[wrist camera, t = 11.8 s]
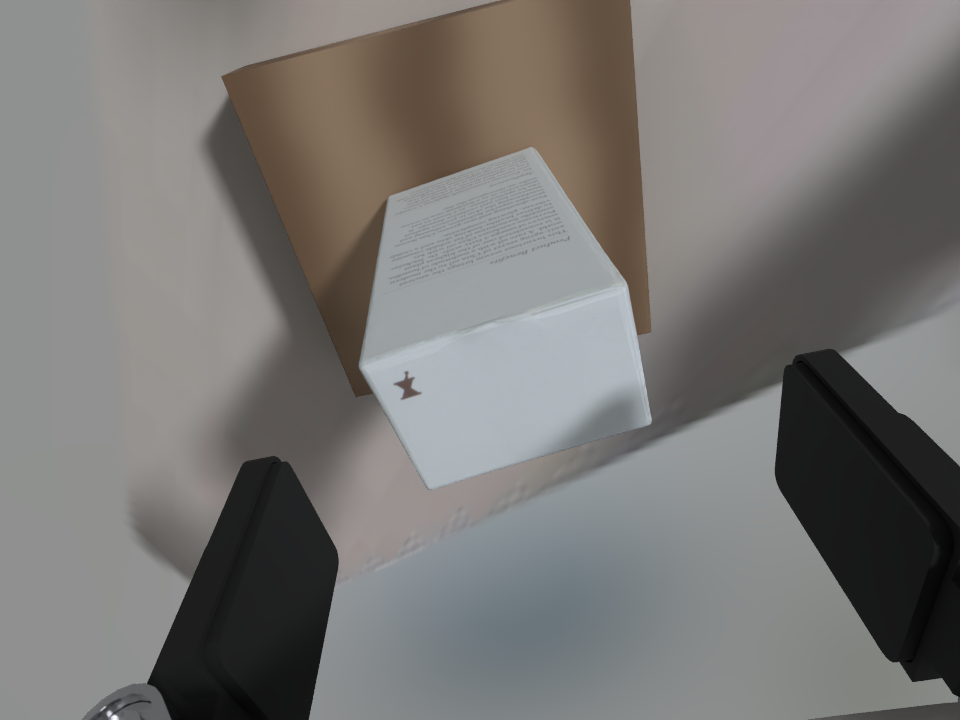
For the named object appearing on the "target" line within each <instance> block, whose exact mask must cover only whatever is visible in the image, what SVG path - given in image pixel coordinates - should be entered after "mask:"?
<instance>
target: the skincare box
mask: <svg viewBox="0 0 960 720" xmlns="http://www.w3.org/2000/svg"><path fill="white" fill-rule="evenodd" d="M359 369H360V371H361V373H362V375H363V376H364V378H365V380H366V382H367V383H368V385H369V387H370V388H371V390H372V392H373V394H374V395H375V397H376V399H377V401H378V402H379V404H380V406H381V408H382V409H383V411H384V413H385V415H386V417H387V418H388V420H389V422H390V424H391V425H392V427H393V429H394V431H395V432H396V434H397V436H398V438H399V440H400V441H401V443H402V445H403V447H404V449H405V450H406V452H407V454H408V456H409V457H410V459H411V461H412V463H413V465H414V467H415V468H416V470H417V472H418V474H419V476H420V477H421V479H422V481H423V483H424V485H425V486H426V488H427V489H428V490H433V489H436V488H440V487H443V486H446V485H449V484H452V483H455V482H458V481H462V480H465V479H468V478H472V477H475V476H479V475H482V474H485V473H489V472H492V471H495V470H498V469H502V468H505V467H508V466H512V465H515V464H519V463H522V462H526V461H529V460H532V459H536V458H539V457H543V456H546V455H549V454H553V453H556V452H559V451H563V450H566V449H569V448H573V447H576V446H579V445H583V444H586V443H590V442H593V441H596V440H600V439H603V438H607V437H610V436H614V435H617V434H620V433H624V432H627V431H630V430H634V429H638V428H642V427H646V426H648V425H650V424H651V421H652V419H651V414H650V408H649V402H648V396H647V390H646V385H645V379H644V373H643V367H642V362H641V356H640V350H639V344H638V338H637V333H636V327H635V322H634V317H633V312H632V306H631V301H630V295H629V289H628V285H627V283H626V281H625V279H624V278H623V277H622V275H621V274H620V273H619V271H618V270H617V268H616V267H615V266H614V264H613V263H612V262H611V260H610V259H609V257H608V256H607V255H606V253H605V252H604V251H603V249H602V247H601V246H600V244H599V243H598V242H597V240H596V239H595V237H594V236H593V234H592V233H591V231H590V230H589V228H588V227H587V225H586V224H585V222H584V221H583V219H582V218H581V216H580V215H579V213H578V212H577V210H576V209H575V207H574V206H573V204H572V203H571V201H570V200H569V198H568V197H567V195H566V194H565V192H564V191H563V189H562V188H561V186H560V185H559V183H558V182H557V180H556V178H555V177H554V175H553V174H552V173H551V171H550V170H549V168H548V166H547V165H546V164H545V162H544V161H543V159H542V157H541V156H540V155H539V153H538V152H537V150H536V149H535V148H533V147H529V148H527V149H524V150H521V151H518V152H515V153H512V154H510V155H507V156H504V157H501V158H498V159H495V160H492V161H489V162H486V163H483V164H480V165H478V166H475V167H472V168H469V169H466V170H463V171H460V172H457V173H455V174H452V175H449V176H446V177H443V178H440V179H437V180H434V181H432V182H429V183H426V184H423V185H420V186H417V187H414V188H412V189H409V190H406V191H403V192H400V193H397V194H394V195H391V196H389V197H388V200H387V205H386V211H385V217H384V223H383V229H382V235H381V240H380V246H379V251H378V257H377V263H376V268H375V275H374V281H373V287H372V293H371V298H370V304H369V310H368V316H367V322H366V329H365V334H364V339H363V345H362V350H361V356H360V360H359Z"/></svg>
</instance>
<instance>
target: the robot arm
mask: <svg viewBox="0 0 960 720" xmlns="http://www.w3.org/2000/svg"><path fill="white" fill-rule="evenodd" d="M775 477H776V481H777V484H778V487H779V489H780V491H781V492H782V494H783V496H784V497H785V499H786V500H787V502H788V503H789V505H790V507H791V508H792V510H793V511H794V513H795V515H796V516H797V518H798V519H799V521H800V523H801V524H802V526H803V527H804V529H805V531H806V532H807V534H808V535H809V537H810V538H811V540H812V542H813V543H814V545H815V546H816V548H817V549H818V551H819V553H820V554H821V556H822V557H823V559H824V561H825V562H826V564H827V565H828V567H829V569H830V570H831V572H832V573H833V575H834V577H835V578H836V580H837V581H838V583H839V585H840V586H841V588H842V589H843V591H844V592H845V594H846V595H847V597H848V599H849V600H850V602H851V603H852V605H853V607H854V608H855V610H856V611H857V613H858V615H859V616H860V618H861V619H862V621H863V623H864V624H865V626H866V627H867V629H868V631H869V632H870V634H871V635H872V637H873V639H874V640H875V642H876V643H877V645H878V646H879V648H880V650H881V651H882V653H883V654H884V655H885V657H886V658H887V659H889V660H890V661H892V662H900V664H901V665H902V666H903V668H904V670H905V671H906V673H907V674H908V676H909V677H910V679H911V680H912V682H916V681H924V680H931V679H938V678H943V680H944V681H945V683H946V684H947V686H948V687H949V688H950V690H951V692H952V693H953V694H954V695H956V696H958V702H955V703H943V704H934V705H925V706H917V707H908V708H900V709H891V710H882V711H874V712H866V713H857V714H849V715H839V716H831V717H824V718H817V719H809V720H960V467H959V465H958V464H957V463H956V462H955V461H953V459H952V458H951V457H949V456H948V455H947V454H946V453H945V452H944V451H943V450H942V449H941V448H940V447H939V446H938V445H937V444H936V443H935V442H934V441H933V440H932V439H931V438H930V437H929V436H928V435H927V434H926V433H925V432H924V431H923V430H922V429H921V428H920V427H919V426H918V425H917V424H916V423H915V422H914V421H912V420H911V419H910V418H908V417H907V416H906V415H903V414H900V413H898V412H897V411H896V410H895V409H894V408H893V407H892V406H891V405H890V404H889V403H888V402H887V401H886V400H885V399H884V398H883V397H882V396H881V395H880V394H879V393H878V392H877V391H876V390H875V389H874V388H873V387H872V386H871V385H870V384H869V383H868V382H867V381H866V380H865V379H864V378H863V377H862V376H861V375H859V373H858V372H857V371H855V369H854V368H853V367H852V366H851V365H850V364H849V363H848V362H847V361H846V360H845V359H844V358H842V357H841V356H840V355H839V354H838V353H837V352H836V351H835V350H833V349H826V350H821V351H816V352H811V353H805V354H800V355H797V356H795V358H794V360H793V364H791V365H787V366H786V367H785V369H784V375H783V386H782V397H781V409H780V419H779V430H778V441H777V452H776V462H775ZM338 564H339V561H338V553H337V550H336V547H335V545H334V544H333V542H332V540H331V538H330V536H329V534H328V533H327V531H326V529H325V527H324V525H323V524H322V522H321V520H320V518H319V516H318V514H317V513H316V511H315V509H314V507H313V505H312V503H311V502H310V500H309V498H308V496H307V494H306V493H305V491H304V489H303V487H302V485H301V483H300V482H299V480H298V478H297V476H296V474H295V472H294V471H293V469H292V467H291V465H290V464H289V463H288V462H281V461H280V459H279V458H278V457H276V456H271V457H266V458H261V459H256V460H250V461H246V462H245V463H243V465H242V466H241V468H240V471H239V473H238V475H237V478H236V480H235V482H234V484H233V487H232V489H231V491H230V494H229V496H228V498H227V501H226V503H225V505H224V508H223V510H222V512H221V515H220V517H219V519H218V522H217V524H216V526H215V529H214V531H213V533H212V536H211V538H210V540H209V543H208V545H207V547H206V548H205V550H204V553H203V555H202V557H201V560H200V562H199V564H198V567H197V569H196V571H195V574H194V576H193V578H192V581H191V583H190V585H189V587H188V590H187V592H186V594H185V597H184V599H183V602H182V604H181V606H180V608H179V611H178V613H177V615H176V618H175V620H174V622H173V625H172V627H171V629H170V632H169V634H168V636H167V639H166V641H165V643H164V645H163V648H162V650H161V652H160V655H159V657H158V659H157V662H156V664H155V666H154V669H153V671H152V673H151V676H150V678H149V680H148V683H147V684H146V683H143V684H132V685H129V686H126V687H124V688H121V689H118V690H116V691H115V692H113V693H112V694H110V695H108V696H107V697H105V698H104V699H102V700H101V701H100V702H99V703H98V704H97V705H96V706H95V707H93V708H92V709H91V710H90V711H89V712H88V713H87V714H86V715H85V717H84V718H83V719H82V720H309V715H310V710H311V705H312V700H313V694H314V689H315V684H316V679H317V674H318V669H319V664H320V659H321V653H322V648H323V643H324V638H325V632H326V628H327V623H328V617H329V612H330V607H331V602H332V597H333V592H334V587H335V581H336V576H337V571H338Z"/></svg>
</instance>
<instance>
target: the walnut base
mask: <svg viewBox="0 0 960 720" xmlns="http://www.w3.org/2000/svg"><path fill="white" fill-rule="evenodd" d="M221 77H222V79H223V82H224V84H225V87H226V89H227V91H228V94H229V96H230V98H231V101H232V103H233V106H234V108H235V110H236V113H237V115H238V117H239V120H240V122H241V125H242V127H243V129H244V132H245V134H246V137H247V139H248V141H249V144H250V146H251V148H252V151H253V153H254V156H255V158H256V160H257V163H258V165H259V167H260V170H261V172H262V175H263V177H264V179H265V182H266V184H267V187H268V189H269V191H270V194H271V196H272V198H273V201H274V203H275V206H276V208H277V210H278V213H279V215H280V217H281V220H282V222H283V225H284V227H285V229H286V232H287V234H288V237H289V239H290V241H291V244H292V246H293V248H294V251H295V253H296V256H297V258H298V260H299V263H300V265H301V267H302V270H303V272H304V275H305V277H306V279H307V282H308V284H309V287H310V289H311V291H312V294H313V296H314V298H315V301H316V303H317V306H318V308H319V310H320V313H321V315H322V317H323V320H324V322H325V325H326V327H327V329H328V332H329V334H330V337H331V339H332V341H333V344H334V346H335V348H336V351H337V353H338V356H339V358H340V360H341V363H342V365H343V367H344V370H345V372H346V375H347V377H348V379H349V382H350V384H351V387H352V389H353V391H354V394H355V396H356V397H358V396H362V395H367V394H371V393H373V392H372V390H371V388H370V387H369V385H368V383H367V382H366V380H365V378H364V376H363V375H362V373H361V371H360V369H359V360H360V356H361V350H362V345H363V339H364V334H365V329H366V322H367V316H368V310H369V304H370V298H371V293H372V287H373V281H374V275H375V268H376V263H377V257H378V251H379V246H380V240H381V235H382V229H383V223H384V217H385V211H386V205H387V200H388V197H389V196H391V195H394V194H397V193H400V192H403V191H406V190H409V189H412V188H414V187H417V186H420V185H423V184H426V183H429V182H432V181H434V180H437V179H440V178H443V177H446V176H449V175H452V174H455V173H457V172H460V171H463V170H466V169H469V168H472V167H475V166H478V165H480V164H483V163H486V162H489V161H492V160H495V159H498V158H501V157H504V156H507V155H510V154H512V153H515V152H518V151H521V150H524V149H527V148H529V147H533V148H535V149H536V150H537V152H538V153H539V155H540V156H541V157H542V159H543V161H544V162H545V164H546V165H547V166H548V168H549V170H550V171H551V173H552V174H553V175H554V177H555V178H556V180H557V182H558V183H559V185H560V186H561V188H562V189H563V191H564V192H565V194H566V195H567V197H568V198H569V200H570V201H571V203H572V204H573V206H574V207H575V209H576V210H577V212H578V213H579V215H580V216H581V218H582V219H583V221H584V222H585V224H586V225H587V227H588V228H589V230H590V231H591V233H592V234H593V236H594V237H595V239H596V240H597V242H598V243H599V244H600V246H601V247H602V249H603V251H604V252H605V253H606V255H607V256H608V257H609V259H610V260H611V262H612V263H613V264H614V266H615V267H616V268H617V270H618V271H619V273H620V274H621V275H622V277H623V278H624V279H625V281H626V283H627V285H628V289H629V295H630V301H631V306H632V312H633V317H634V322H635V327H636V333H637V335H640V334H645V333H649V332H651V321H650V305H649V290H648V274H647V258H646V243H645V227H644V211H643V196H642V180H641V164H640V149H639V133H638V117H637V101H636V86H635V70H634V54H633V39H632V23H631V7H630V0H500V1H496V2H492V3H488V4H484V5H480V6H477V7H473V8H469V9H465V10H461V11H457V12H453V13H449V14H445V15H442V16H438V17H434V18H430V19H426V20H422V21H418V22H414V23H410V24H407V25H403V26H399V27H395V28H391V29H387V30H383V31H379V32H376V33H372V34H368V35H364V36H360V37H356V38H352V39H348V40H344V41H341V42H337V43H333V44H329V45H325V46H321V47H317V48H313V49H309V50H306V51H302V52H298V53H294V54H290V55H286V56H282V57H278V58H275V59H271V60H267V61H263V62H259V63H255V64H251V65H247V66H244V67H242V68H239V69H237V70H235V71H233V72H230V73H228V74H226V75H223V76H221Z"/></svg>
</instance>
